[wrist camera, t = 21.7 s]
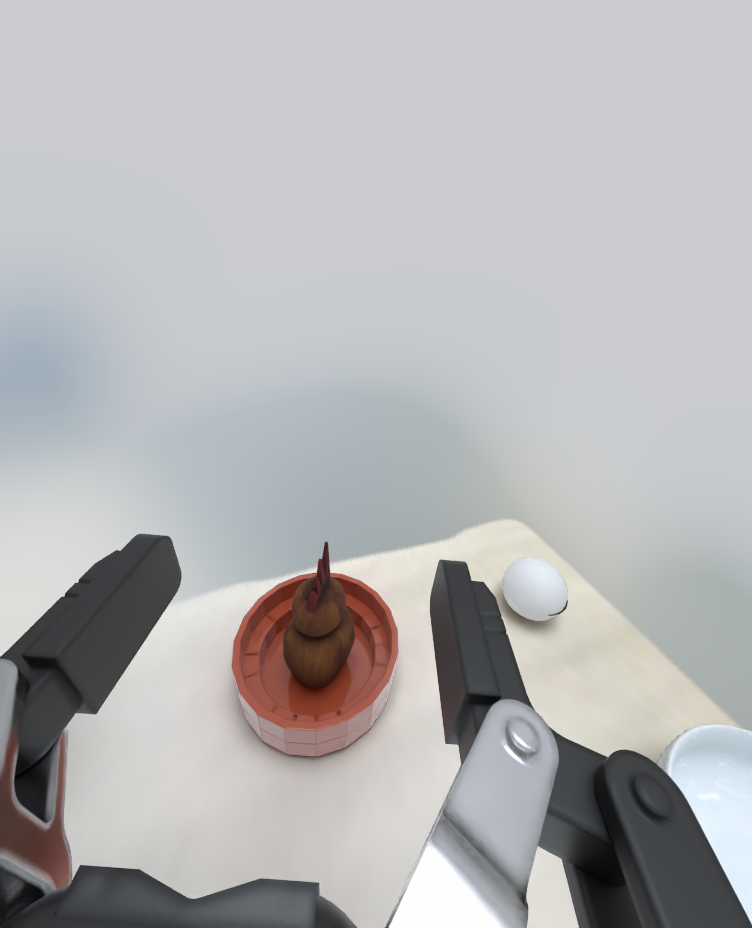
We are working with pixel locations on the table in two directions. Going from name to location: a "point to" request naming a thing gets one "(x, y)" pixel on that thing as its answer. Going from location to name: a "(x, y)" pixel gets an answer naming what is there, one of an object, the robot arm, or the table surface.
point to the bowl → (299, 706)
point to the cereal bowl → (719, 795)
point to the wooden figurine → (318, 629)
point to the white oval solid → (535, 589)
